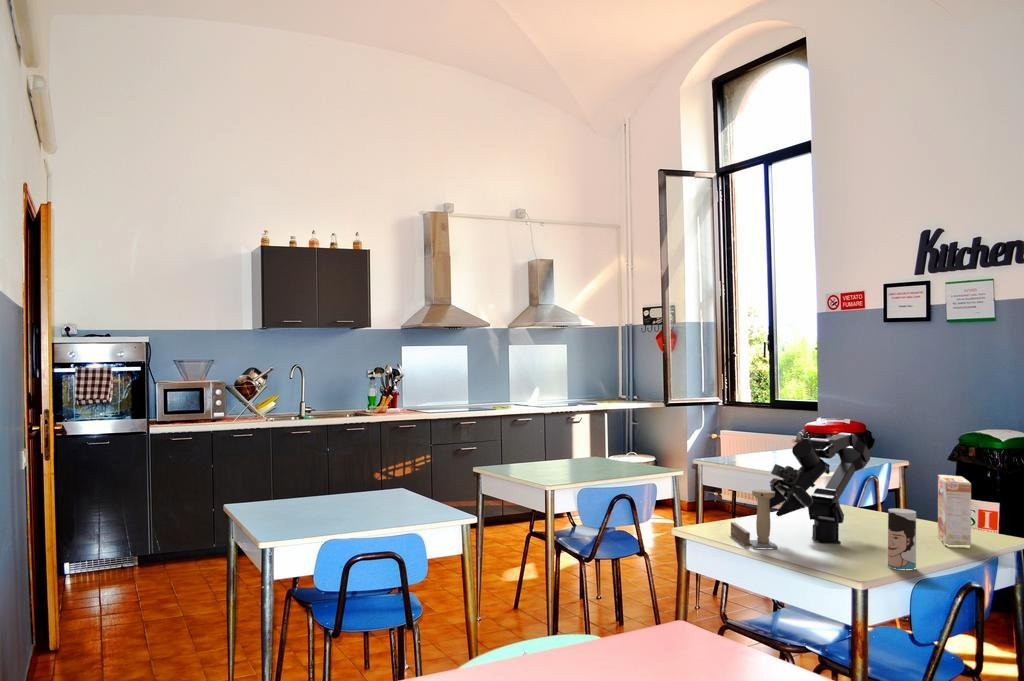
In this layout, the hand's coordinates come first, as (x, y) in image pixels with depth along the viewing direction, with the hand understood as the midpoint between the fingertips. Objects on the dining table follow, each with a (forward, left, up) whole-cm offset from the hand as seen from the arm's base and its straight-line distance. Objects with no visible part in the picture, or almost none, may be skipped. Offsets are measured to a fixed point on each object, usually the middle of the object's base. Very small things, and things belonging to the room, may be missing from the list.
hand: (770, 512), depth 242 cm
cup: (-27, +23, -10) cm, 37 cm away
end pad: (+3, 0, -10) cm, 10 cm away
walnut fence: (+7, -6, -10) cm, 14 cm away
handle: (+2, 0, -9) cm, 9 cm away
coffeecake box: (-58, -7, -10) cm, 59 cm away
